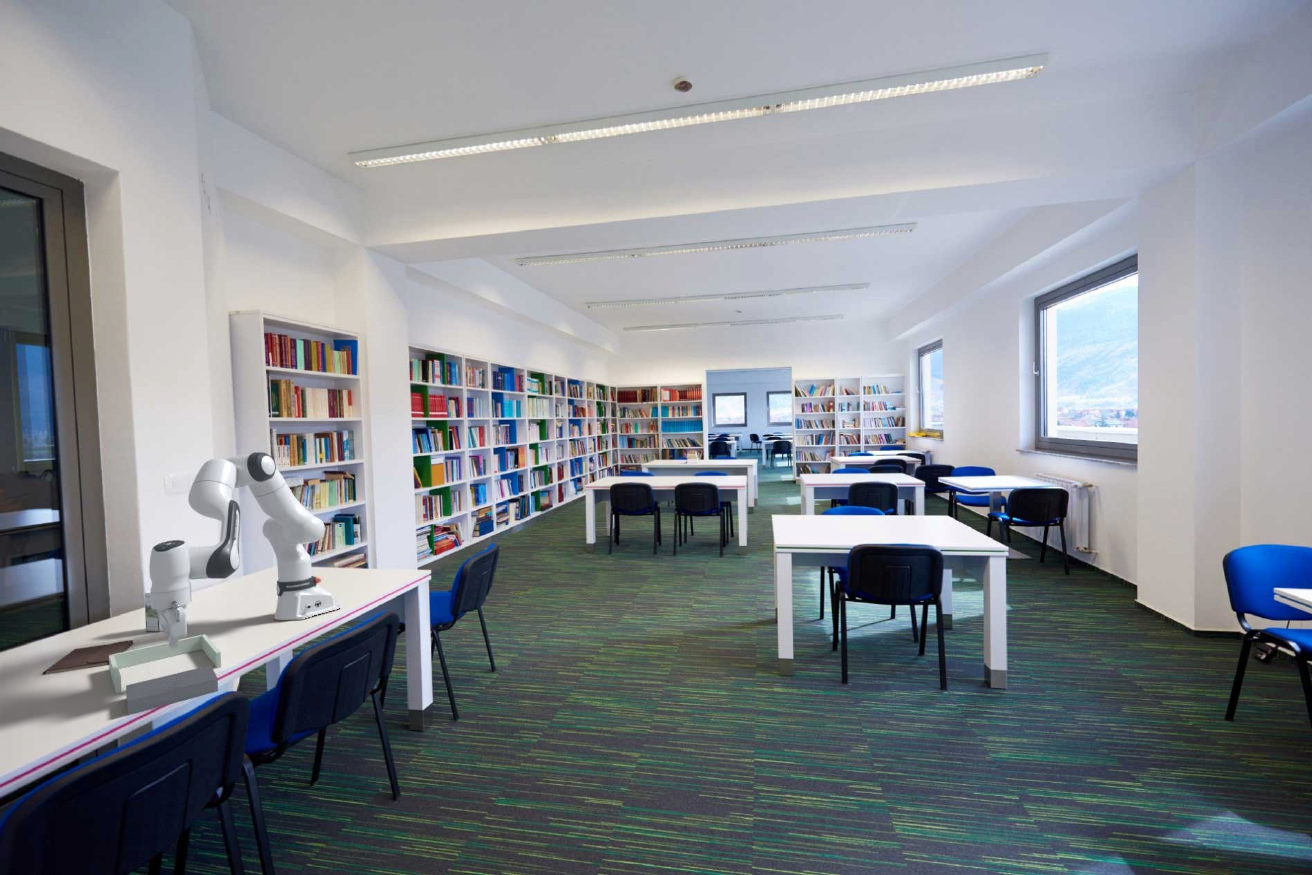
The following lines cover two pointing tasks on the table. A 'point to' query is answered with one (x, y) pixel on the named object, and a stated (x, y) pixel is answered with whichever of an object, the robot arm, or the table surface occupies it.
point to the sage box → (160, 655)
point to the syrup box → (151, 616)
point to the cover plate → (170, 689)
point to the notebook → (88, 657)
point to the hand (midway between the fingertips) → (173, 646)
